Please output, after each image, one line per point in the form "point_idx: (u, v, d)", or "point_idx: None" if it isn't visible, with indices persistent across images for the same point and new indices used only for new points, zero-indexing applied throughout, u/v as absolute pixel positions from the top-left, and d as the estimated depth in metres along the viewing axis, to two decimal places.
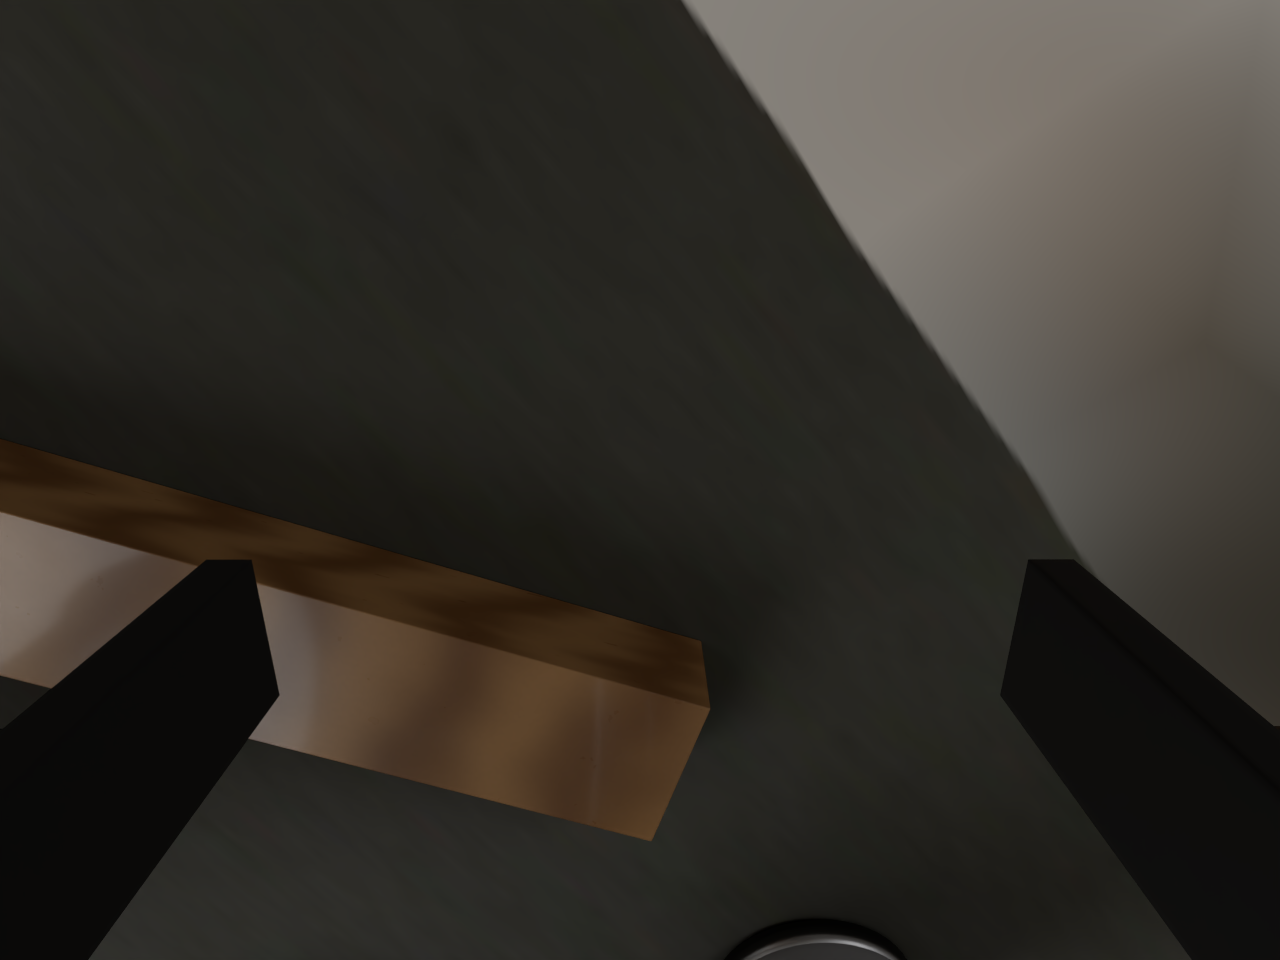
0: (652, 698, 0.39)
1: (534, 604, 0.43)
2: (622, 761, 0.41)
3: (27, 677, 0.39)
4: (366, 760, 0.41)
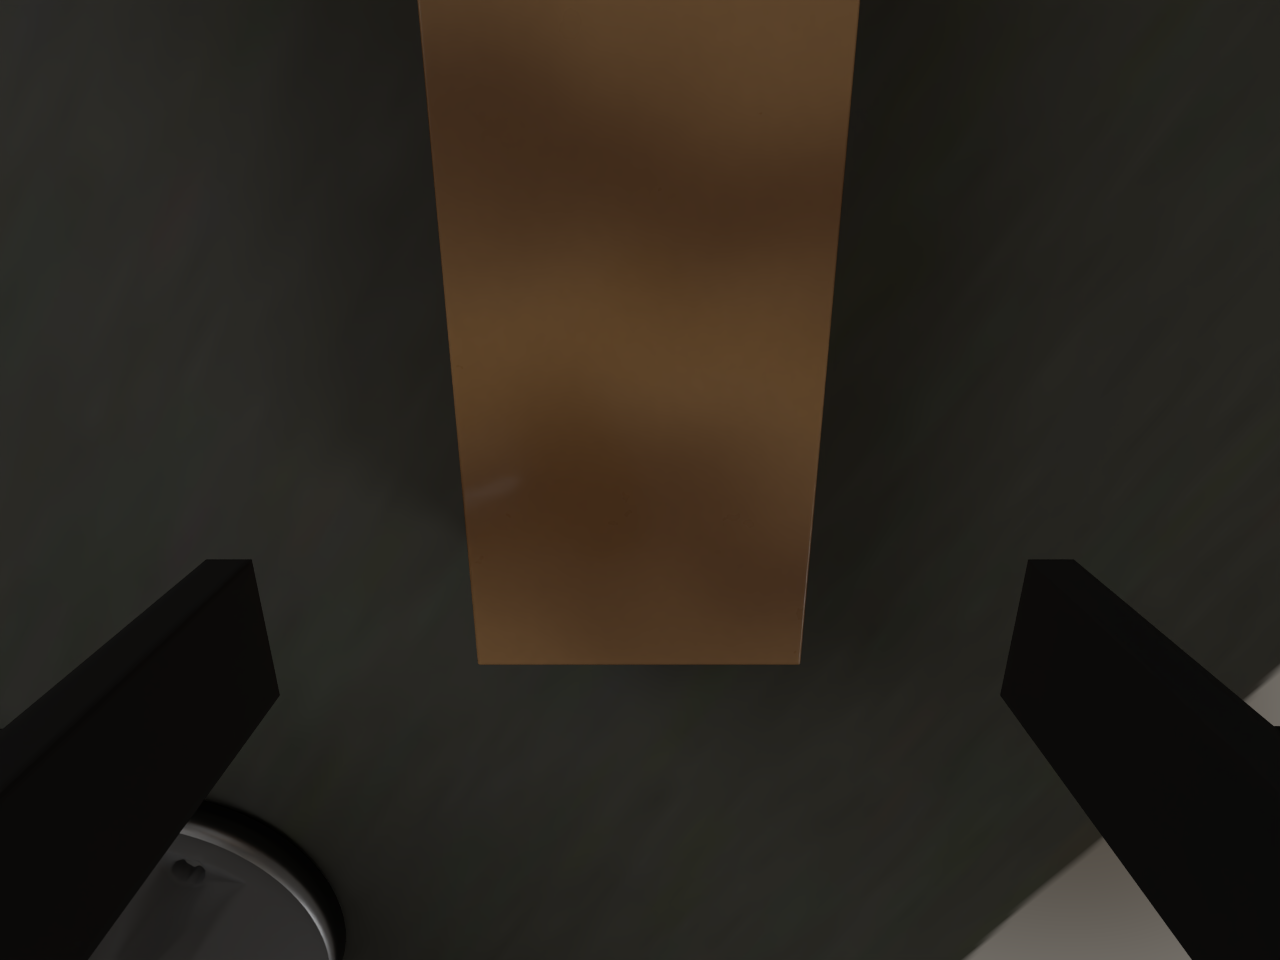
0: (797, 572, 0.21)
1: None
2: (642, 565, 0.21)
3: None
4: (446, 31, 0.17)
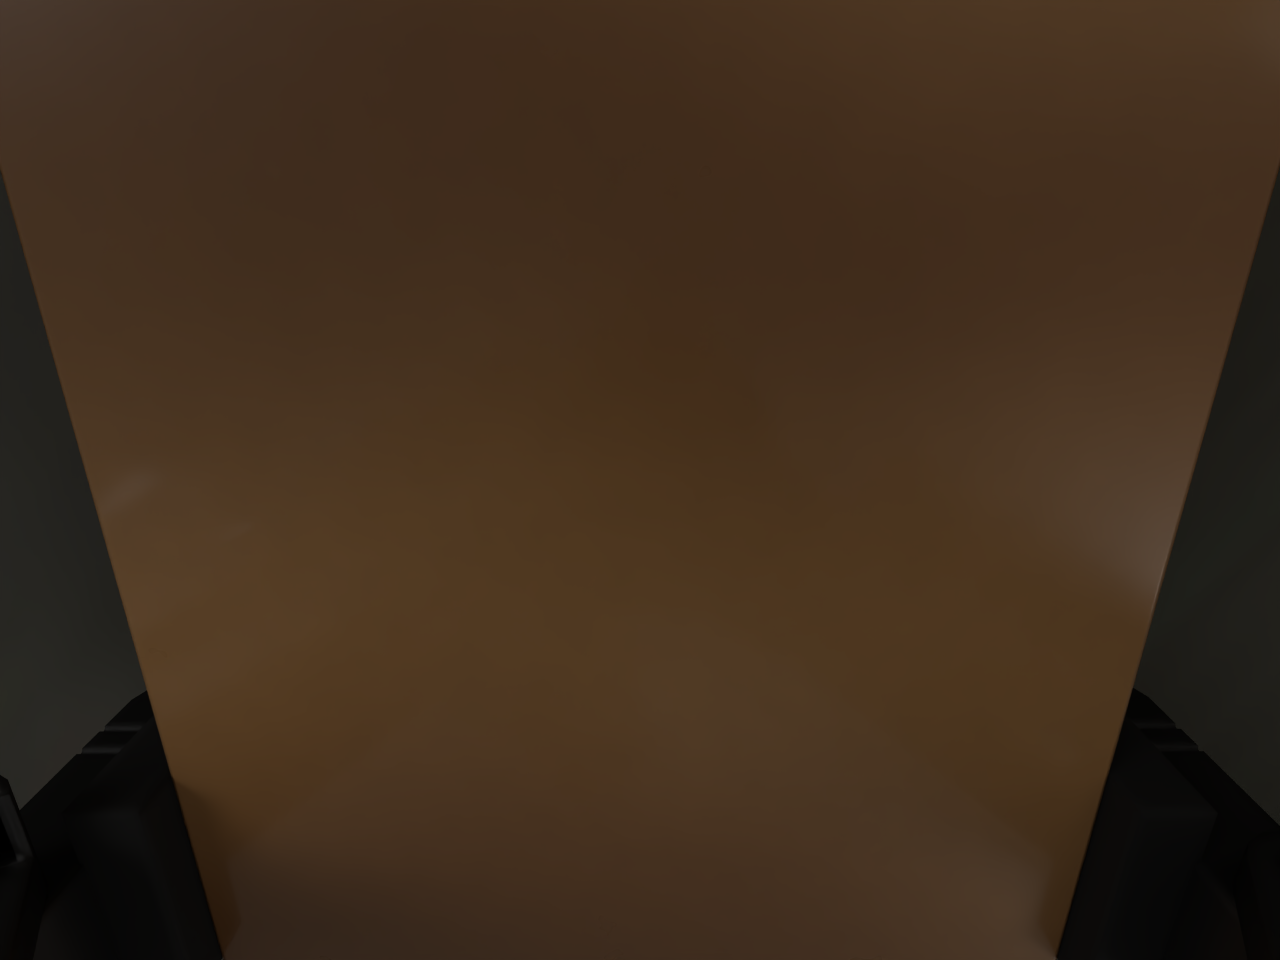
0: None
1: None
2: None
3: None
4: None
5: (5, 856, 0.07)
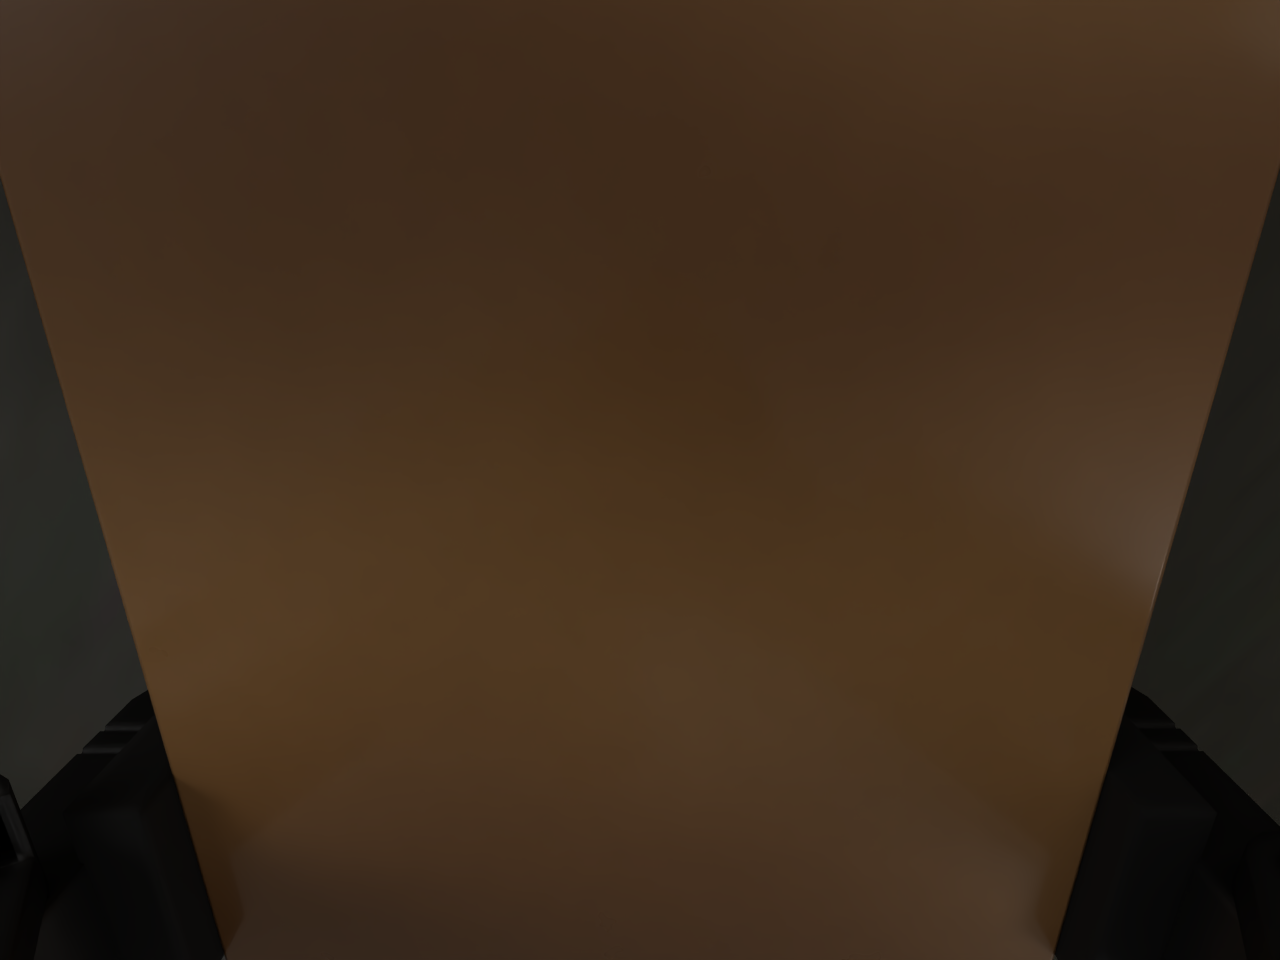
0: None
1: None
2: None
3: None
4: None
5: (6, 855, 0.07)
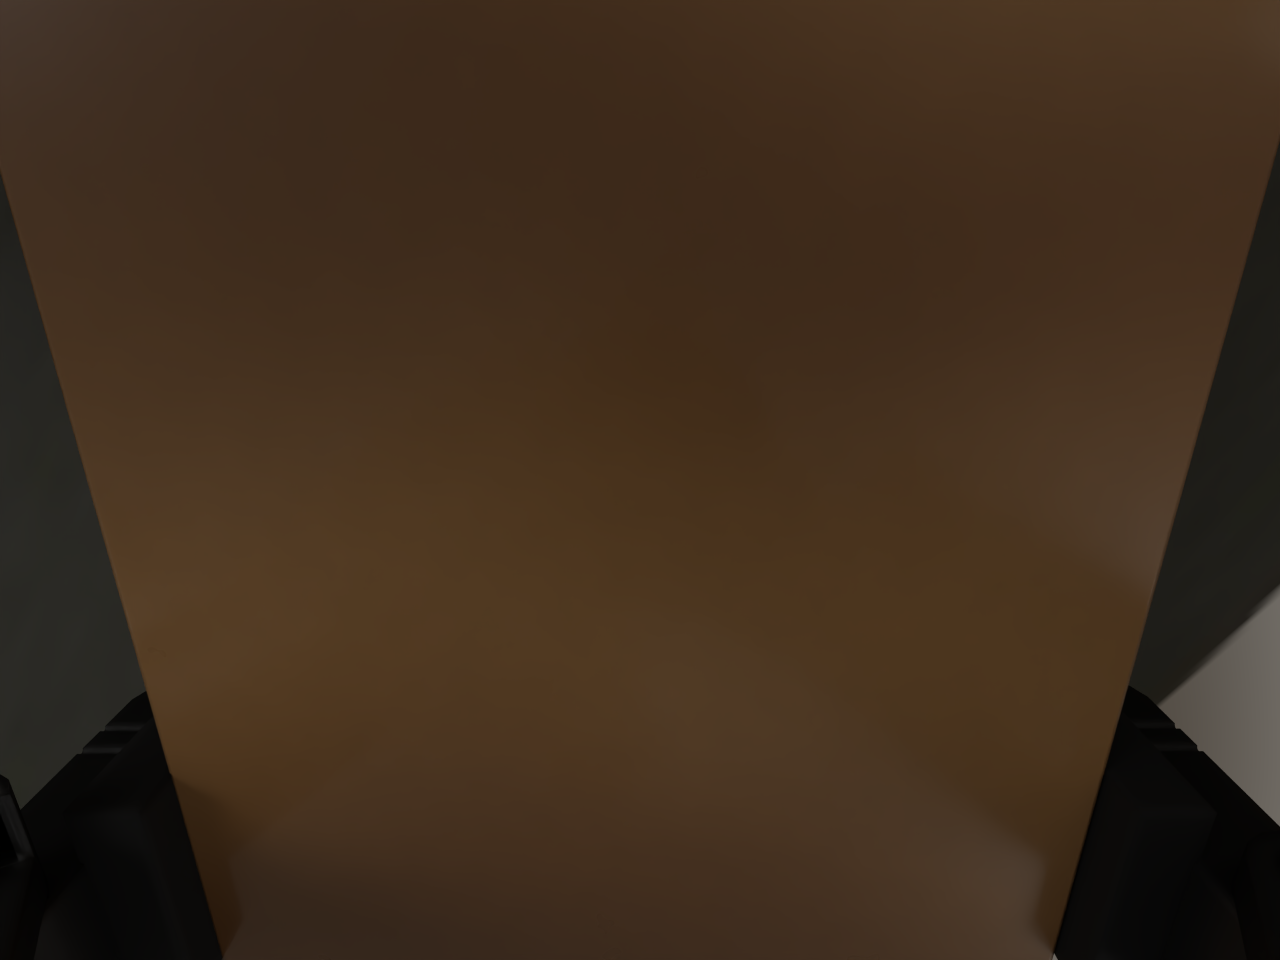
0: None
1: None
2: None
3: None
4: None
5: (6, 856, 0.07)
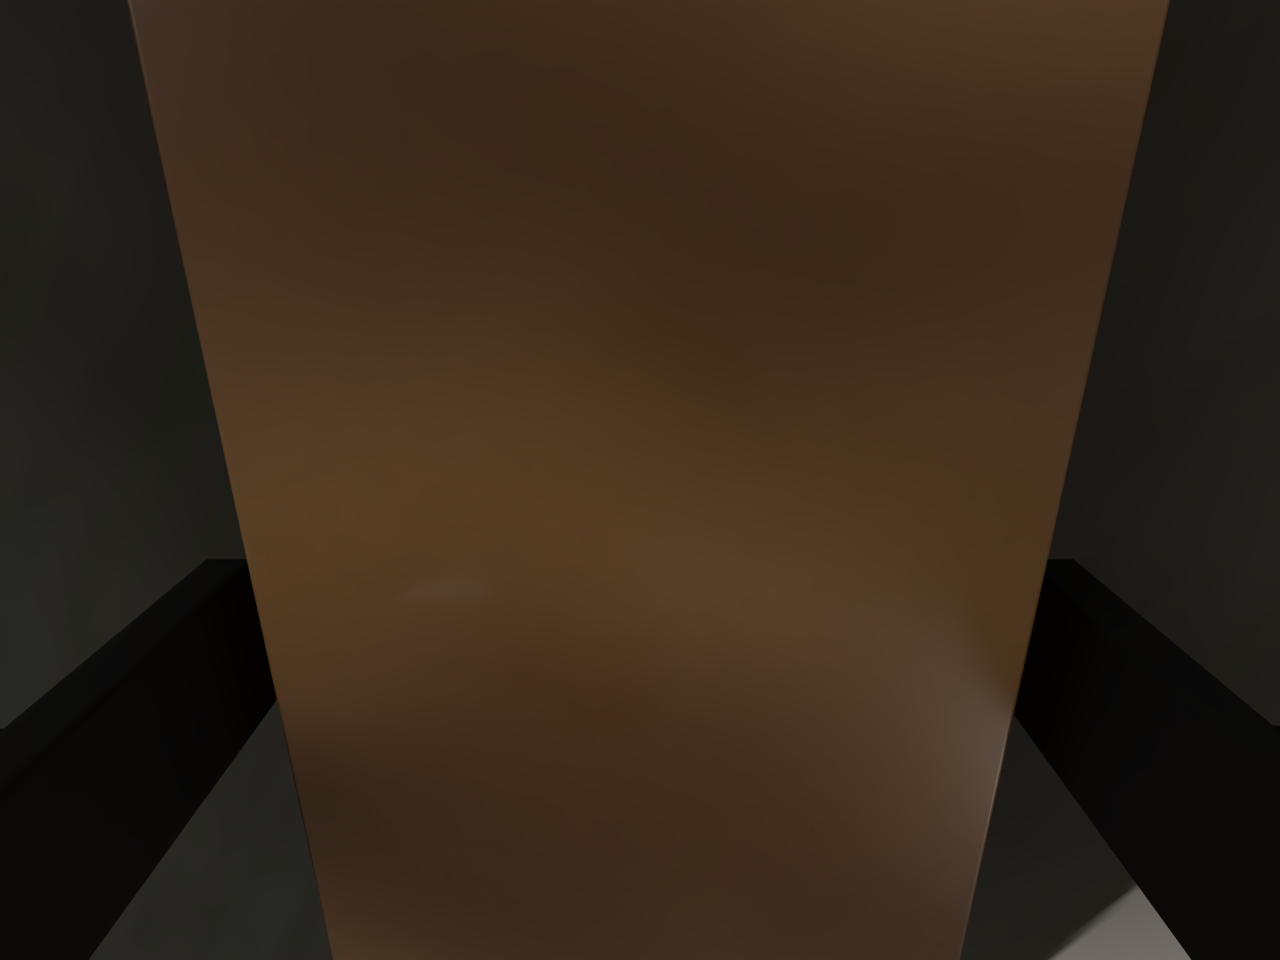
0: (950, 916, 0.11)
1: None
2: (652, 903, 0.11)
3: None
4: None
5: None
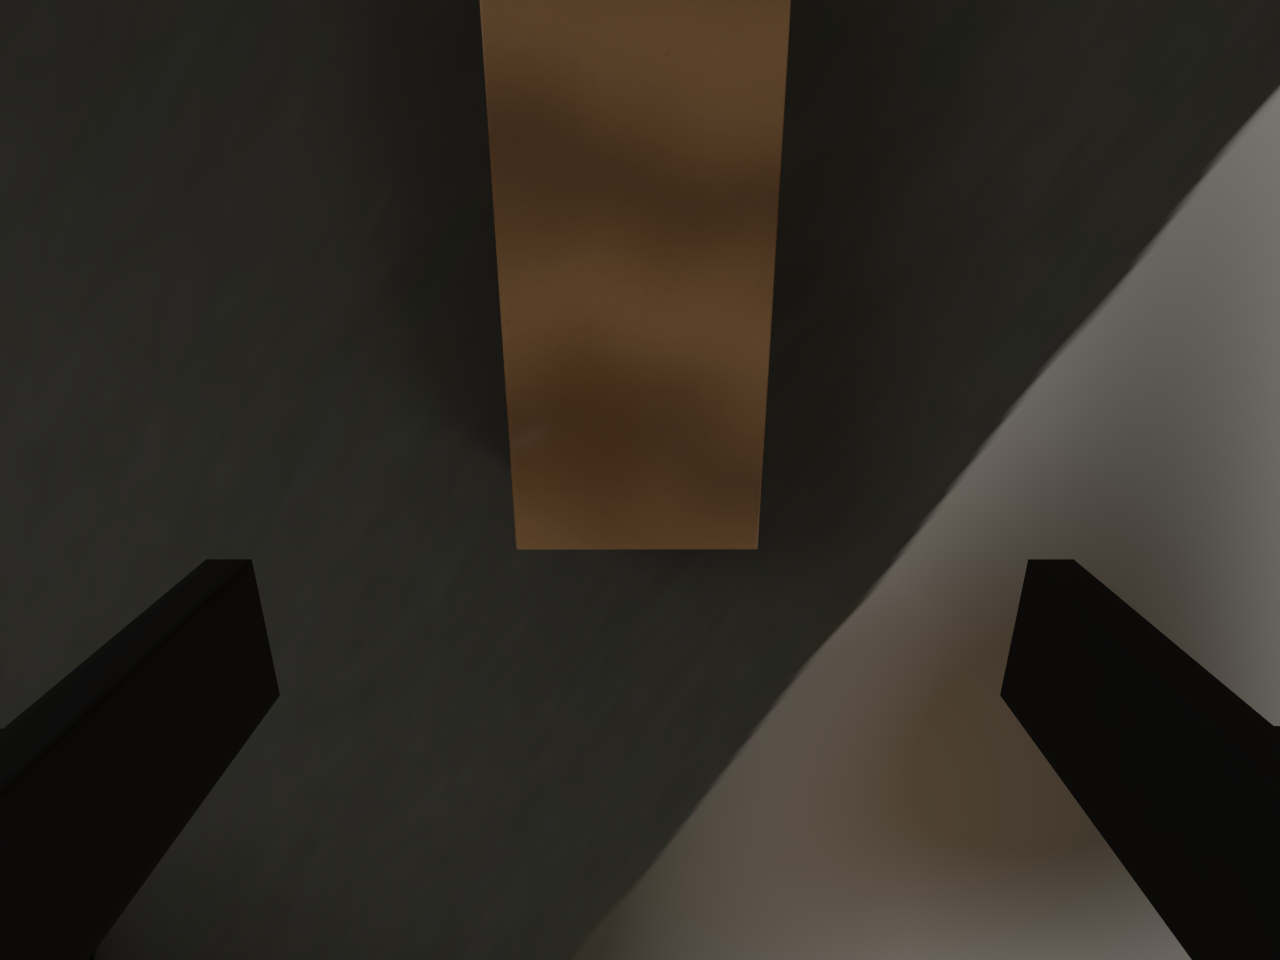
0: (754, 476, 0.29)
1: None
2: (639, 471, 0.29)
3: None
4: (503, 86, 0.24)
5: None
